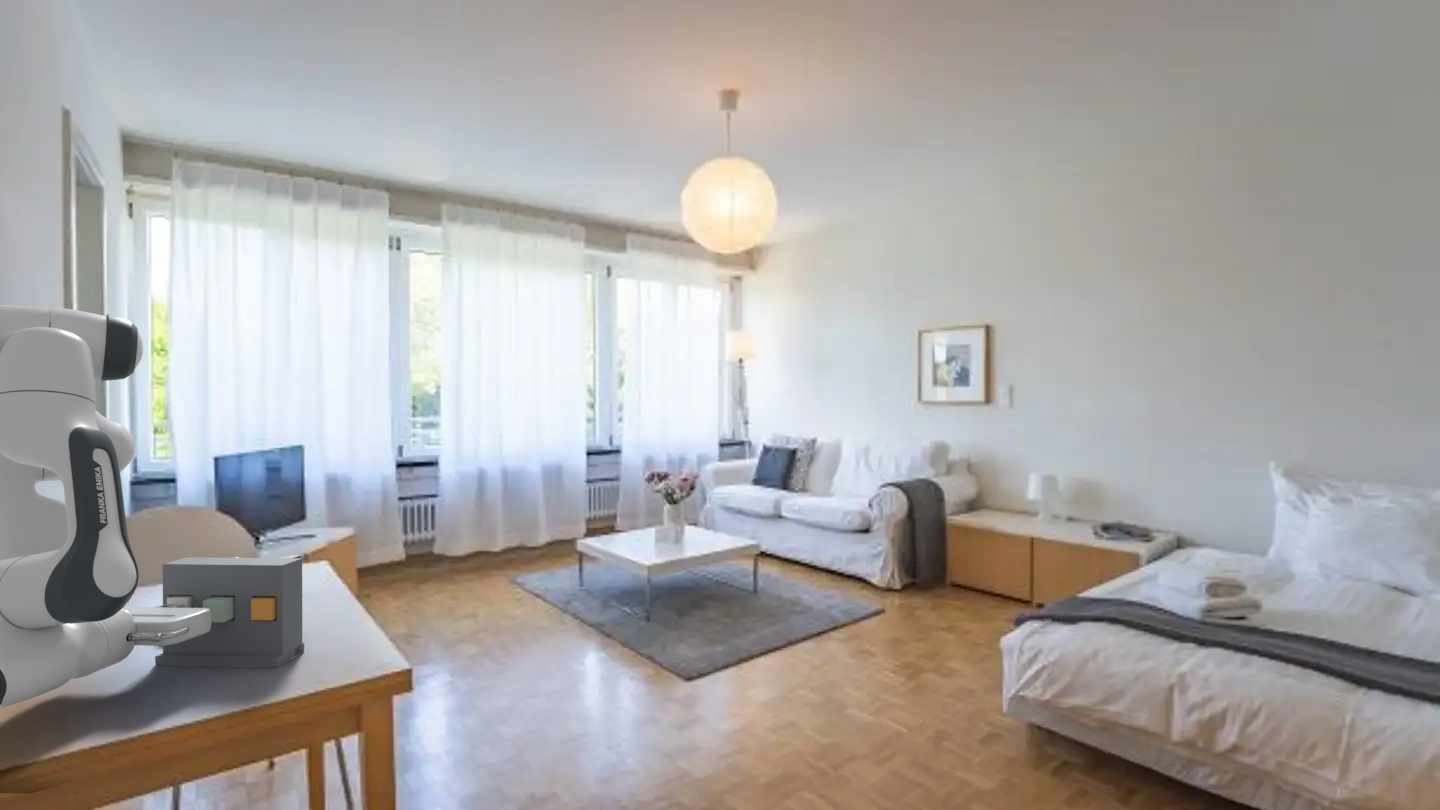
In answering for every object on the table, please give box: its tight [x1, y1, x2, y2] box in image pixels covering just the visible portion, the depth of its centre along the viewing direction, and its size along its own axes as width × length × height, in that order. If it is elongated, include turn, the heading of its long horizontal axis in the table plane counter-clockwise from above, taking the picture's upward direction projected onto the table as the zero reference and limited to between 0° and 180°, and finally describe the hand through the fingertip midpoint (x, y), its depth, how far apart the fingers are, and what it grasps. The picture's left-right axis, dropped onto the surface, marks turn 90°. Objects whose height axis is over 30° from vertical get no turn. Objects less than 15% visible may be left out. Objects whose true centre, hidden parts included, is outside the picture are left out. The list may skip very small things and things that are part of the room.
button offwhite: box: [167, 595, 193, 608], centre depth 114 cm, size 3×3×3 cm
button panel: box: [154, 556, 305, 668], centre depth 115 cm, size 20×7×16 cm, turn 88°
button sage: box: [203, 596, 235, 622], centre depth 113 cm, size 3×3×3 cm
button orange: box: [251, 596, 277, 620], centre depth 114 cm, size 3×3×3 cm
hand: (176, 608), depth 113 cm, fingers closed, pressing on button offwhite
